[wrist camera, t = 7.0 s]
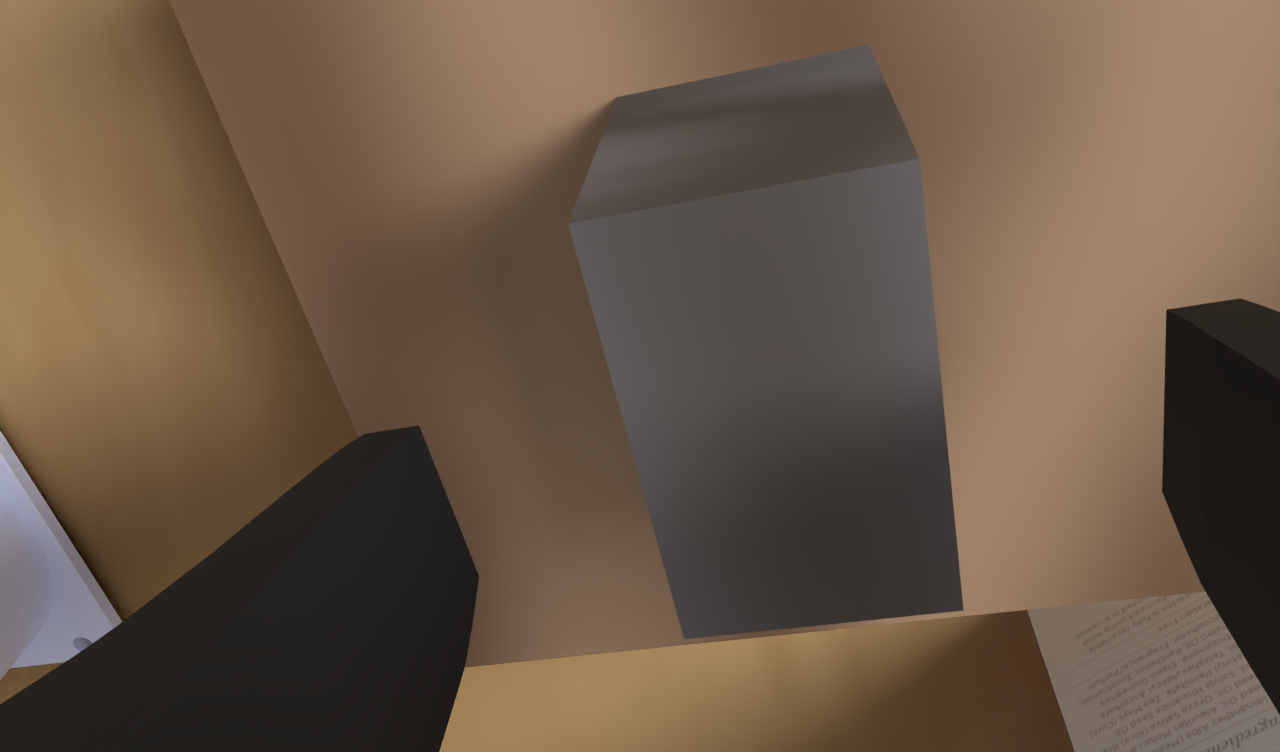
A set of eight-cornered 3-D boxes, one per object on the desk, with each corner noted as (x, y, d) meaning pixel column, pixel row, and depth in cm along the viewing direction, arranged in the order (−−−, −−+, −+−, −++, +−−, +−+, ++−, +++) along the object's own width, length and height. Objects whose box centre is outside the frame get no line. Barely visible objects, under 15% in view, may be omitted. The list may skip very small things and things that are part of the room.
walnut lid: (471, 626, 18) (389, 885, 14) (141, -172, 12) (-183, -137, 8) (1252, 540, 16) (1437, 821, 12) (1339, -510, 10) (1800, -722, 6)
